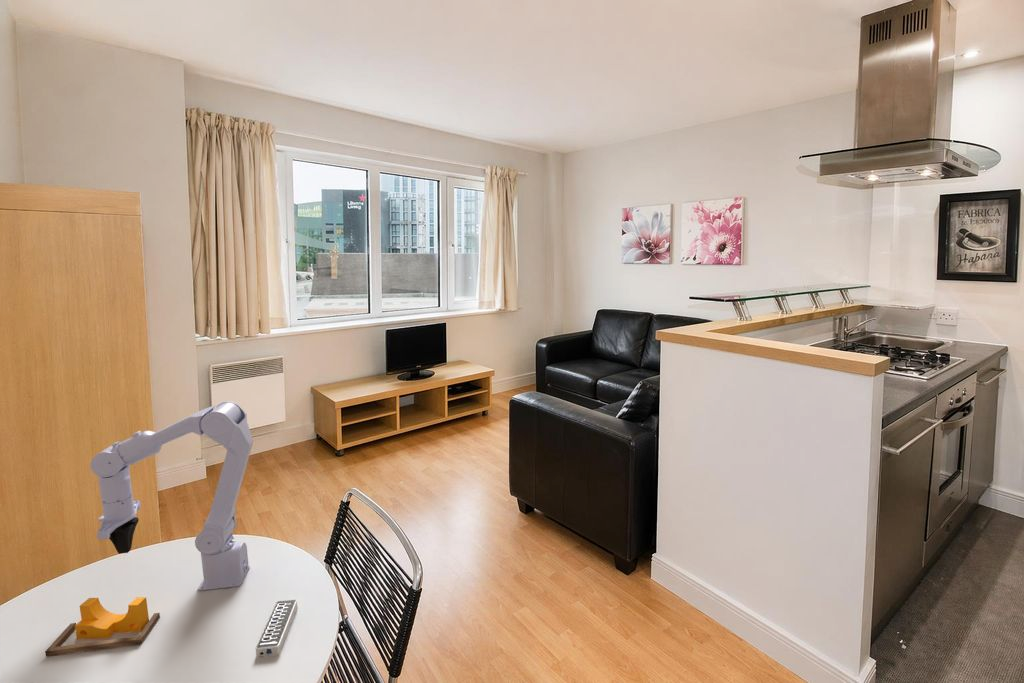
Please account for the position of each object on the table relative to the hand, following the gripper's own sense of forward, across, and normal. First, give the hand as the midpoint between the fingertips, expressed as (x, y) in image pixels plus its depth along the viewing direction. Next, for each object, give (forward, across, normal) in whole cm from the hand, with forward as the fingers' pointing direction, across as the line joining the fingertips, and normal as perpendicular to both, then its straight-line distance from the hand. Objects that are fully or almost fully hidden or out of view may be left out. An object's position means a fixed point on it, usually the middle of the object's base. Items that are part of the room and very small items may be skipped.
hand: (124, 551), depth 121 cm
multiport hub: (+10, +21, +38) cm, 45 cm away
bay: (+10, +16, +3) cm, 19 cm away
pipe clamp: (+10, +15, +4) cm, 18 cm away
